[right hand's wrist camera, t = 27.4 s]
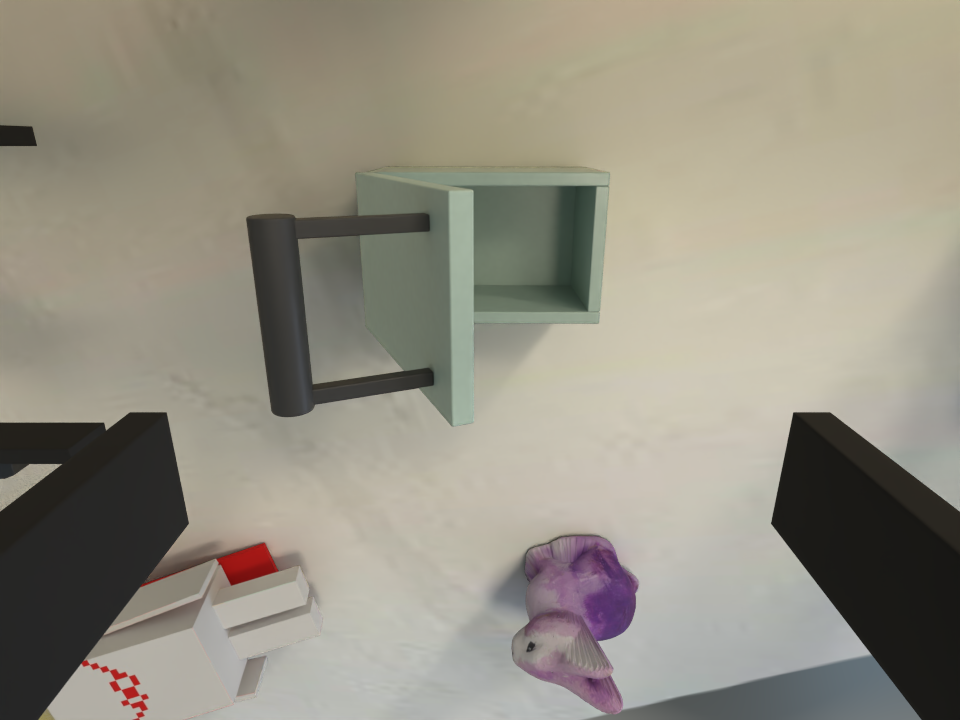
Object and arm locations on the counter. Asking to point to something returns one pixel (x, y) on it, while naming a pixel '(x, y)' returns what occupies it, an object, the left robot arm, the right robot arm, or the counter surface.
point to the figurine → (575, 616)
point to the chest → (532, 239)
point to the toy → (191, 642)
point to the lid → (378, 295)
